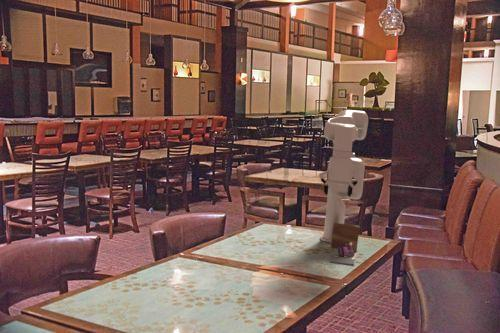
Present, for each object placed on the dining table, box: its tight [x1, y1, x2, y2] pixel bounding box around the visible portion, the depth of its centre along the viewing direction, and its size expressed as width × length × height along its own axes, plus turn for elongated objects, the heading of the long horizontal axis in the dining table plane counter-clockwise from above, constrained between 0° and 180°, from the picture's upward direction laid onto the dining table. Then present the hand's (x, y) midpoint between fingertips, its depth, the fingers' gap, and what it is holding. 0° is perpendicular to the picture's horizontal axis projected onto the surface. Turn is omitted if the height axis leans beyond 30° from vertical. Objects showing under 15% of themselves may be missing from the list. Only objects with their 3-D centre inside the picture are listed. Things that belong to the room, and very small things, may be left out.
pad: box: [330, 255, 355, 267], centre depth 226 cm, size 8×10×1 cm
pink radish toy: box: [336, 242, 355, 258], centre depth 234 cm, size 7×5×9 cm
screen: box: [330, 223, 360, 252], centre depth 244 cm, size 2×12×12 cm, turn 78°
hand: (337, 195), depth 216 cm, fingers open, 9 cm apart
